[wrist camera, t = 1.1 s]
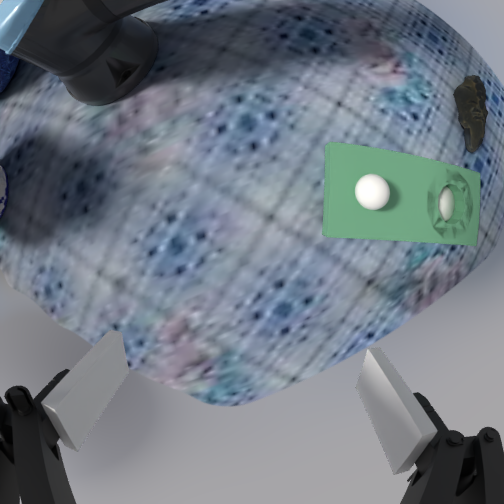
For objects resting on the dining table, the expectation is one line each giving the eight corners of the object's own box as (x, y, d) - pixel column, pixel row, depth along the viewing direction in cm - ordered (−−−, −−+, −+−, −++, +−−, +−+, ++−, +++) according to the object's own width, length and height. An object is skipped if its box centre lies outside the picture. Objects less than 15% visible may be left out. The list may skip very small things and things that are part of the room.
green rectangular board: (322, 234, 33) (327, 237, 30) (325, 145, 31) (330, 141, 28) (466, 243, 32) (476, 245, 30) (470, 173, 30) (480, 173, 28)
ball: (350, 173, 29) (363, 170, 25) (381, 177, 29) (396, 175, 25) (349, 207, 30) (361, 209, 26) (379, 210, 29) (395, 212, 26)
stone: (451, 144, 30) (472, 140, 25) (447, 73, 27) (465, 63, 22) (478, 158, 30) (499, 156, 25) (474, 89, 27) (493, 83, 22)
